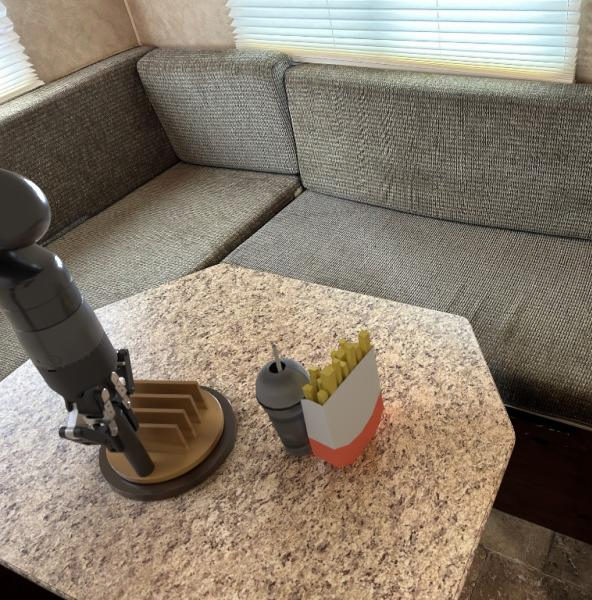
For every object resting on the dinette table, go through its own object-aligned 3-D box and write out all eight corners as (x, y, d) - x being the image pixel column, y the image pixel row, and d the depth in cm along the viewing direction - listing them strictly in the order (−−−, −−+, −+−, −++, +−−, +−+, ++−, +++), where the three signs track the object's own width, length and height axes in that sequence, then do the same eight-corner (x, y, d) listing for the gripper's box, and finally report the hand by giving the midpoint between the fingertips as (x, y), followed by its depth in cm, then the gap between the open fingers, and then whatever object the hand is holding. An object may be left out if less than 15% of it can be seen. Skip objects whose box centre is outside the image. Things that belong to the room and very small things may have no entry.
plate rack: (138, 389, 93) (105, 330, 85) (238, 391, 91) (214, 331, 82) (87, 481, 81) (43, 422, 73) (201, 486, 78) (169, 426, 70)
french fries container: (314, 464, 82) (286, 374, 70) (359, 408, 88) (341, 317, 77) (342, 478, 80) (318, 388, 68) (386, 420, 86) (371, 328, 75)
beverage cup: (309, 413, 88) (279, 311, 75) (337, 443, 84) (311, 340, 71) (265, 442, 85) (227, 340, 72) (293, 475, 81) (257, 373, 68)
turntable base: (136, 529, 77) (132, 523, 76) (82, 443, 88) (77, 437, 87) (263, 439, 86) (260, 433, 85) (198, 372, 97) (195, 365, 96)
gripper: (63, 299, 70) (120, 397, 81) (-4, 390, 60) (72, 489, 71) (125, 297, 70) (173, 396, 81) (68, 389, 59) (133, 489, 70)
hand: (126, 439), depth 76 cm, fingers closed on plate rack, 2 cm apart
